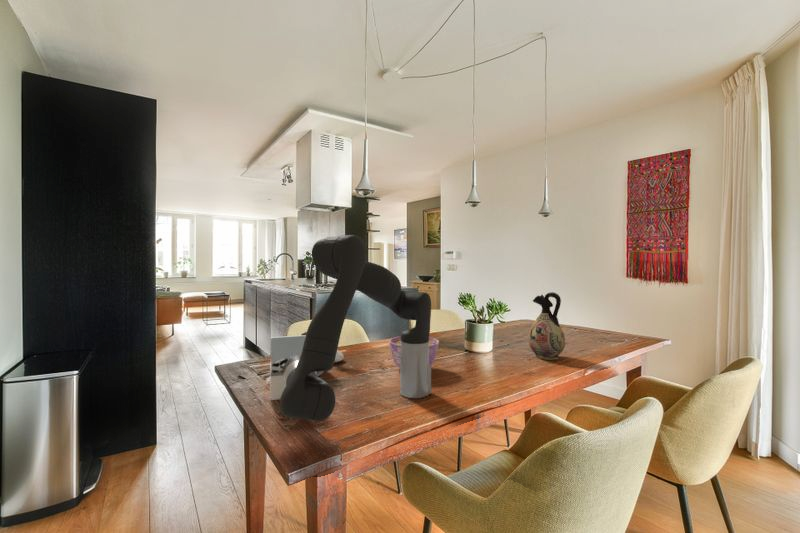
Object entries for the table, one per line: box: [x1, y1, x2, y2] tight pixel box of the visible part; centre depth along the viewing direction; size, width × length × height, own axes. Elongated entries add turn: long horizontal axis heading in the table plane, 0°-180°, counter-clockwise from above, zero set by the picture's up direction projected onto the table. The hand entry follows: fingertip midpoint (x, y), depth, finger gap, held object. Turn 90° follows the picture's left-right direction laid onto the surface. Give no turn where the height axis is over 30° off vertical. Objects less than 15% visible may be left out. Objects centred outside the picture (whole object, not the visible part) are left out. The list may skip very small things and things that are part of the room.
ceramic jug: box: [528, 291, 566, 361], centre depth 162 cm, size 17×15×30 cm
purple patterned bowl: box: [388, 335, 440, 368], centre depth 143 cm, size 20×20×12 cm
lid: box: [270, 335, 306, 372], centre depth 111 cm, size 12×11×1 cm
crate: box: [269, 361, 286, 401], centre depth 118 cm, size 12×11×9 cm
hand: (293, 357), depth 103 cm, fingers closed
